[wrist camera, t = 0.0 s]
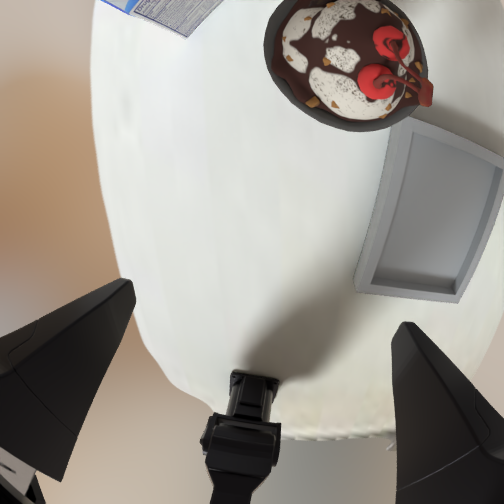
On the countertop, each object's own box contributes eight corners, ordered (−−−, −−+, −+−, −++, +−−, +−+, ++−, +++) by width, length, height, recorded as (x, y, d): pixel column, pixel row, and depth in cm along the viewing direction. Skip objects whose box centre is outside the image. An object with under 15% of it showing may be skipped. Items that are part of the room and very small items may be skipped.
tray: (450, 291, 23) (457, 303, 21) (352, 278, 24) (356, 292, 22) (499, 156, 15) (511, 162, 14) (393, 113, 17) (402, 114, 15)
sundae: (337, 138, 18) (425, 211, 6) (261, 87, 17) (182, 45, 4) (385, 75, 15) (528, 49, 2) (309, 23, 14) (329, -105, 1)
